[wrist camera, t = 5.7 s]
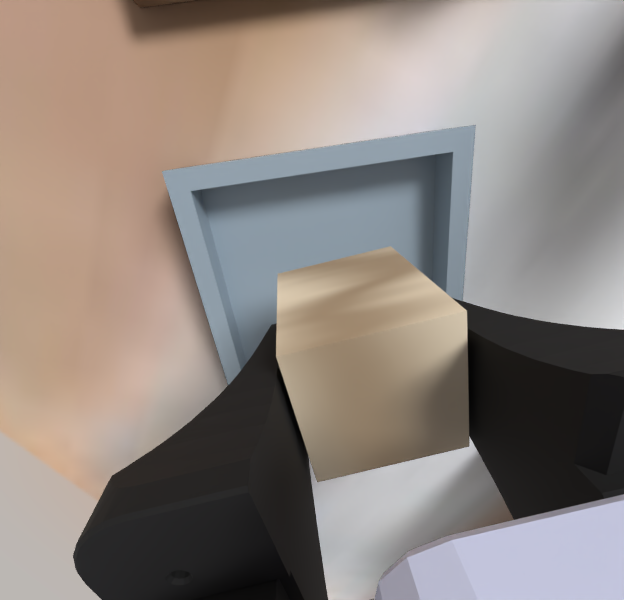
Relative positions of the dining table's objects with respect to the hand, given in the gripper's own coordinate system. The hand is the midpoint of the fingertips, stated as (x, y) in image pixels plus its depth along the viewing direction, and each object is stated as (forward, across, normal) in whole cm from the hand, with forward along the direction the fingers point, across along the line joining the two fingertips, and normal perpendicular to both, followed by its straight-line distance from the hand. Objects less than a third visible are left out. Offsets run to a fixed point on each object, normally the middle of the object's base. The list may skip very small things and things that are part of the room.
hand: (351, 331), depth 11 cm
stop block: (+1, 0, 0) cm, 1 cm away
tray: (+5, 0, 0) cm, 5 cm away
